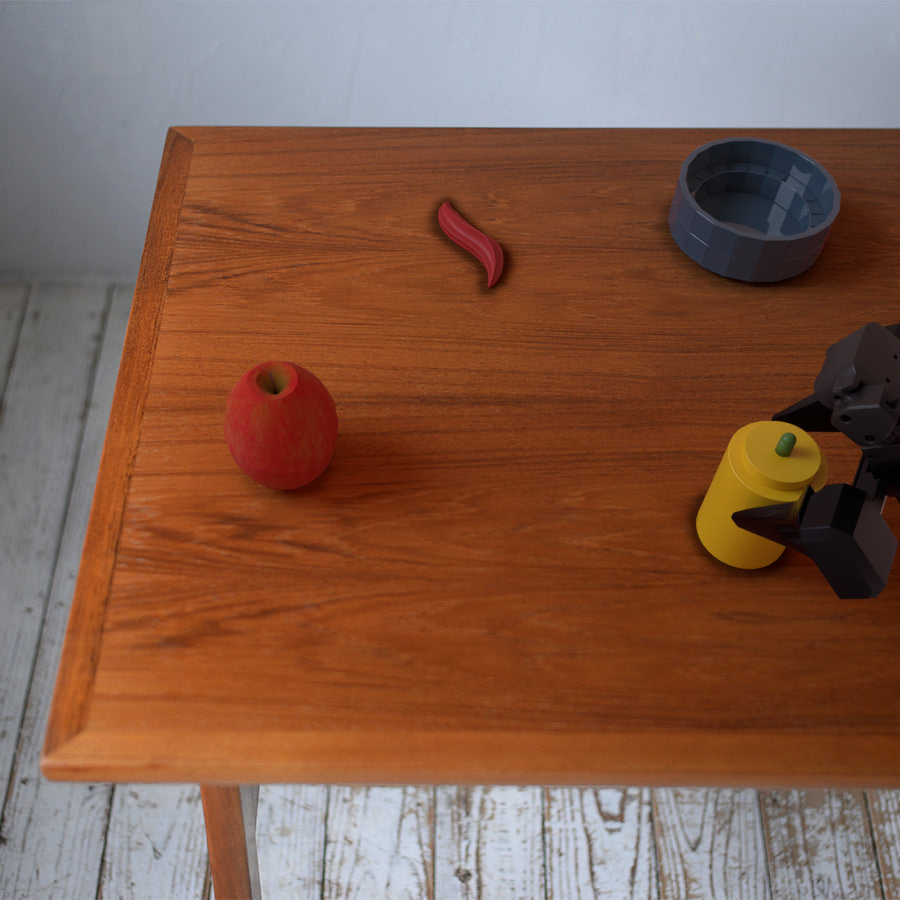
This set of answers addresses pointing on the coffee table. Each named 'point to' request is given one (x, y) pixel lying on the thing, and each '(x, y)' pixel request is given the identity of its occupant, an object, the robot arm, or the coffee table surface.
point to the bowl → (753, 209)
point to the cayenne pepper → (472, 241)
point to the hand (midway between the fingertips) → (755, 469)
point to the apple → (281, 425)
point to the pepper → (757, 488)
